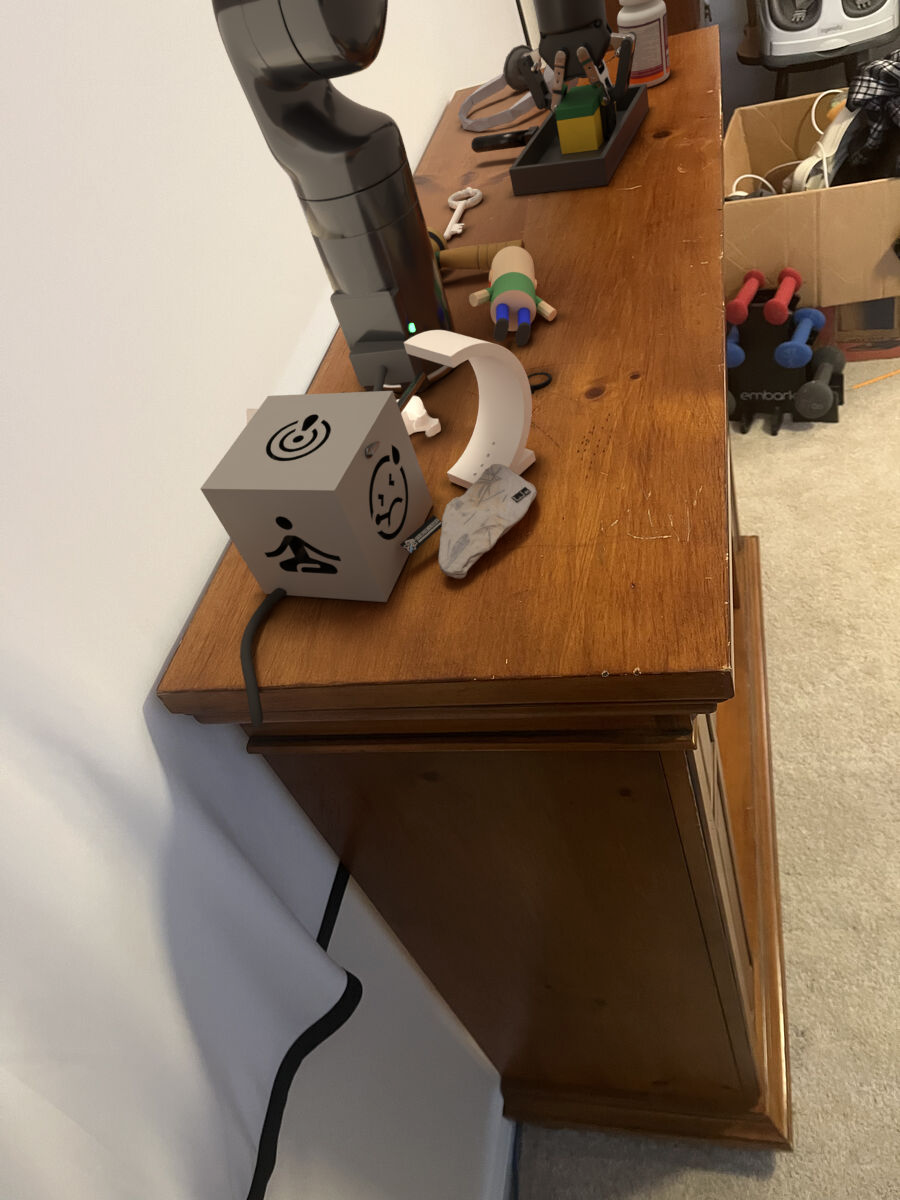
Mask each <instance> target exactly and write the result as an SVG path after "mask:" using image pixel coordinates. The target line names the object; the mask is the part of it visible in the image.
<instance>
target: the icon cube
mask: <svg viewBox="0 0 900 1200" xmlns="http://www.w3.org/2000/svg"><path fill="white" fill-rule="evenodd" d="M396 400H397V399H396V396H395V392H393V391H375V392H366V391H354V392H351V391H350V392H331V393H329V392H327V393H304V394H281V395H267V396H266V398H265V399H264V400H263V402H262V404H261V405H260V406H259V408H257V409H258V410H257V412H256V413H255V415H254V416H253V417H252V419H251V420H250V421H249V423H248V424H247V423H246V425H245V427H244V428H243V430H242V431H241V432H240V434H239V435H238V436H237V438H236V439H235V440H234V442H233V443H232V444H231V446H230V447H229V449H228V450H227V451H226V453H225V454H224V455H223V457H222V458H221V460H220V461H219V462H218V464H217V465H216V466H215V468H214V469H213V470H212V472H211V473H210V475H209V476H208V477H207V478H206V480H205V481H204V483H203V484H202V485H201V487H200V488H199V490H200V491H201V492H202V494H203V496H204V498H205V500H207V502H208V504H209V505H210V508H211V509H212V511H213V513H214V514H215V515H216V517H217V518H218V520H219V522H220V524H221V526H222V527H223V528H224V530H225V532H226V534H227V535H228V537H229V539H230V540H231V541H232V544H233V545H234V546H235V548H236V550H237V552H238V553H239V555H240V556H241V559H242V560H243V561H244V563H245V564H246V566H247V568H248V569H249V572H251V575H252V576H253V577H254V580H255V581H256V582H257V584H258V586H259V587H260V589H261V590H262V592H263V594H266V595H270V594H271V593H272V592H273V591H274V590H275V589H277V588H282V589H284V590H286V592H287V594H286V595H285V596H295V597H308V598H321V599H322V598H323V599H335V600H337V599H338V600H351V601H364V602H365V601H366V602H378V603H387V602H388V599H389V598H390V595H391V594H392V591H393V589H394V587H395V585H396V583H397V581H398V579H399V576H400V574H401V572H402V570H403V568H404V566H405V563H406V562H407V559H408V558H409V555H410V553H409V552H408V551H406V550H405V549H404V548H403V547H402V546H401V545H400V544H401V543H402V542H403V541H405V540H406V539H407V538H408V537H409V536H410V535H411V534H413V533H414V532H415V531H416V530H417V529H418V528H419V527H421V526H422V525H423V524H424V523H425V522H426V520H427V517H428V515H429V513H430V510H431V509H432V506H433V504H434V501H433V498H432V495H431V493H430V490H429V487H428V484H427V482H426V479H425V477H424V473H423V470H422V467H421V465H420V462H419V459H418V457H417V455H416V451H415V449H414V446H413V443H412V440H411V437H410V435H409V434H408V432H407V429H406V426H405V423H404V421H403V418H402V415H401V412H400V409H399V407H398V404H397V401H396ZM376 441H379V442H380V445H379V447H378V449H377V450H376V452H375V453H374V455H373V456H372V457H371V458H369V459H368V458H366V456H365V448H366V447H367V446H369V445H370V444H371V443H373V442H376Z"/></svg>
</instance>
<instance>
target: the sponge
mask: <svg viewBox="0 0 900 1200" xmlns="http://www.w3.org/2000/svg"><path fill="white" fill-rule="evenodd" d="M600 106H601V103H600V101H599V98H598V96H597V94H596V91H595V89H594V88H592V86H591V84H590V83H589V84H583V85H577V86H576V87H572V88H571V89H570V90H569V92H568V93H567V95H566V96H565V97H564V99H563V100H562V102H561V103H560V104H559V106H558V107H557V109H556V110H555V112H556V118H557V125H558V132H559V138H560V145H561V151H562V154H568V153H576V152H583V151H591V150H598V148H599V147H600V145H601V143H602V142H603V140H604V139H603V133H602V125H601V116H600V108H599V107H600Z"/></svg>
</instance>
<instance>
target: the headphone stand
mask: <svg viewBox="0 0 900 1200" xmlns="http://www.w3.org/2000/svg"><path fill="white" fill-rule="evenodd" d="M404 346H405V349H406V352H407V354H410V355H413V356H417V357H420V358H423V359H427V360H430V361H433V362H436V363H440V364H443V365H446V366H449V367H453V369H455V368H456V367H457V366H459V365H460V364H463V363H464V362H465V361H467V360H468V362H469V363H470V365H471V367H472V369H473V371H474V375H475V378H476V381H477V387H478V409H477V410H478V412H477V417H476V421H475V426H474V429H473V431H472V436H471V438H470V440H469V441H468V444H467V446H466V447H465V450H464V451H463V453H462V455H461V456H460V457H459V458H458V460H457V461H456V462H455V464H454V465H452V466H451V468H450V469H449V470H448V471H447V472H446V475H447V478H448V480H449V481H450V482H451V483H453V484H455V485H458V486H461V487H463V488H465V489H467V490H468V489H469V488H470V487H471V486H472V485H473V484H474V483H475V482H476V481H477V480H478V479H479V478H480V477H481V475H482V474H483V472H484V471H485V469H487V468H489V467H490V466H491V465H493V464H502V465H504V466H506V467H508V468H510V469H511V470H513V471H514V472H515V473H516V474H517V475H519V476H521V475H522V473H524V472H525V471H526V470H527V469H528V468H529V467H530V466H531V465H532V464H533V463H535V462H536V460H537V459H536V454H535V451H534V450H531V449H528V448H526V445H527V443H528V439H529V435H530V430H531V425H532V424H531V422H532V417H533V416H532V415H533V414H532V413H533V399H532V398H533V397H532V394H531V390H530V385H531V384H530V380H529V379H528V377H527V376H528V375H527V373H526V370H525V368H524V366H523V364H522V363H521V361H520V360H519V358H518V357H517V356H516V355H515V354H514V353H513V352H512V351H511V350H509V349H508V348H506V347H504V346H502V345H500V344H498V343H493V342H490V341H487V340H483V339H478V338H475V337H471V336H468V335H464V334H461V333H458V332H457V333H453V332H449V331H445V330H431V331H426V332H423V333H420V334H417V335H415V336H413V337H412V338H410V339H408V340H407V341H405V342H404Z"/></svg>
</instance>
